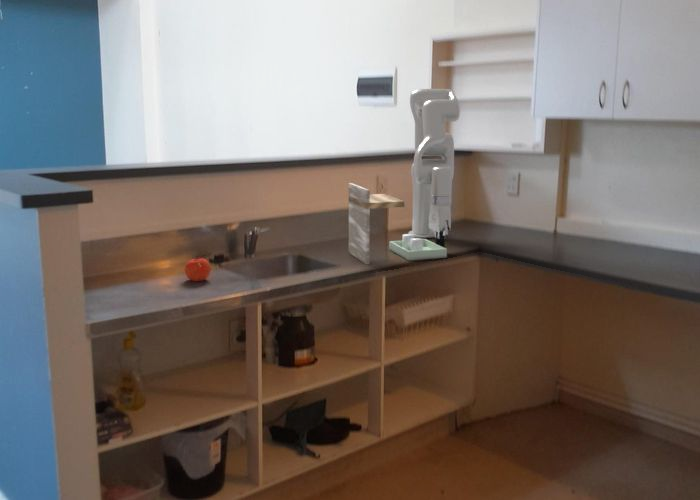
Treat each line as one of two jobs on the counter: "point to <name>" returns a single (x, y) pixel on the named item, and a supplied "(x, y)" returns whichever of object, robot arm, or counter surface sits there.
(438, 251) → the tray
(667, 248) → the counter surface
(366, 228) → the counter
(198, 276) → the apple
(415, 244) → the white egg
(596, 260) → the counter surface
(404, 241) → the grey rounded piece
